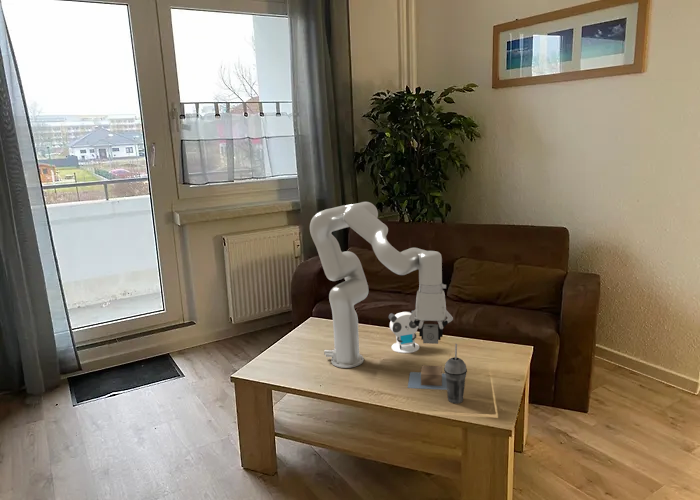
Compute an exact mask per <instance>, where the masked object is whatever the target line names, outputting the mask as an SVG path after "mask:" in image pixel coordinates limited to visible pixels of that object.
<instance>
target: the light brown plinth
mask: <svg viewBox="0 0 700 500" xmlns="http://www.w3.org/2000/svg"><path fill="white" fill-rule="evenodd" d="M420 372H421V385H433V386H442V373H443V366H442V365H425V364H424V365H421V371H420Z"/></svg>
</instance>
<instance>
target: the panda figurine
mask: <svg viewBox="0 0 700 500" xmlns="http://www.w3.org/2000/svg"><path fill="white" fill-rule="evenodd" d="M414 310H415V309H414ZM414 310H411V312H410V311H402V312H397V313H396V314H394V313H393V312H391V313H389V315H388V319H389V320H390V322H389V329H390V331H392V333H393V334H394V335H395V339H396V340H395V341H396V342H394V343H393V344H392V345H391V350H392V351H394V352H396V353H399V354H411V353H412V354H413V353H416V352H417V351H419V350H420V345H419V344H418V343H416V341H415V340H416V339H417V334H416V333H417V331H418V329H419V328H418V326H417V325H416V324H415V323H414V322H412V321H411V320H410V319H409V316H410V315H411V314H412V313H413V312H414ZM415 318H416V316H415Z"/></svg>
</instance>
